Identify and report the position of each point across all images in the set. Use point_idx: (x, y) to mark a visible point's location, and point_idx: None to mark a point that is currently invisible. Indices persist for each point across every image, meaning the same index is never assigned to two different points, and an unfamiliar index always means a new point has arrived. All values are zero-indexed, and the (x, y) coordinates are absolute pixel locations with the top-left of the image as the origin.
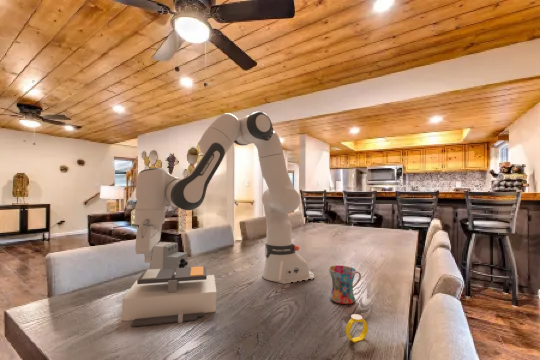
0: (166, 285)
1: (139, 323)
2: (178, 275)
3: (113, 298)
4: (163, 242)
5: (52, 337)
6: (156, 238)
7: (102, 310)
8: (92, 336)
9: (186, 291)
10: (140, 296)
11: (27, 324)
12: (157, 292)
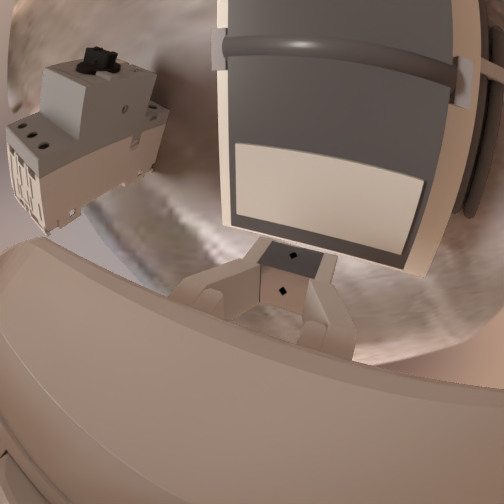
0: None
1: (480, 198)
2: (407, 32)
3: (243, 253)
4: (13, 185)
5: (409, 343)
6: (113, 357)
7: None
8: (456, 291)
9: None
10: (433, 221)
11: None
12: None
